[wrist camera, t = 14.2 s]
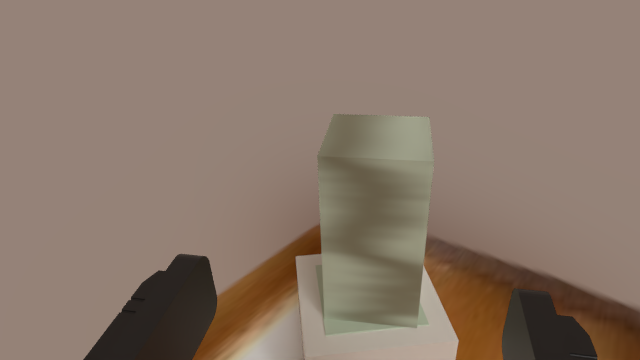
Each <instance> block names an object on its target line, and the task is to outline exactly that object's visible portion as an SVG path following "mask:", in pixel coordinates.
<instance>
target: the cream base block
mask: <svg viewBox="0 0 640 360" xmlns="http://www.w3.org/2000/svg"><path fill="white" fill-rule="evenodd" d="M296 269H297V283H298V296H299V310H300V321H301V332H302V343H303V354H304V360H455V358H456V353H457V347H458V342H459V340H458V338H457V336H456V334H455V332H454V329H453V327H452V325H451V323H450V321H449V319H448V317H447V315H446V312H445V310H444V308H443V306H442V304H441V302H440V300H439V297H438V295H437V293H436V291H435V289H434V287H433V285H432V282H431V280H430V278H429V276H428V274H427V272H426V270H425V267H424V265H423V274H422V284H421V294H420V304H419V313H418V323H417V328H411V327H401V326H392V325H382V324H373V323H363V322H354V321H344V320H335V319H326V318H324V298H323V274H322V254H315V255H305V256H296Z"/></svg>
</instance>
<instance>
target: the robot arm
mask: <svg viewBox="0 0 640 360" xmlns="http://www.w3.org/2000/svg"><path fill="white" fill-rule="evenodd" d="M216 307H217V295H216V290H215V286H214V281H213V276H212V272H211V268H210V263H209V260H208V258H207V257H205V256H197V255H187V254H179V255H177V256H176V257H175V259H174V260H173V261H172V263H171V264H170V266H169V267H168V268H167V270H166V271H158V272H156V273H155V274H154V275H152V276H151V277H149V278H148V279H147V280H145V281H144V282H143V283H142V284H141V285H140V286H139V288H138V289H137V291H136V292H135V293H134V294H133V296H132V297H131V300H129V301H128V302H127V303H126V305H125V306H124V307H123V309H122V312H121V313H119V314H118V316H117V317H116V318H115V319H114V320H113V322H112V323H111V324H110V326H109V327H108V328H107V330H106V331H105V332H104V334H103V335H102V336H101V337H100V339H99V340H98V342H97V343H96V344H95V345H94V347H93V348H92V349H91V351H90V352H89V353H88V355H87V356H86V357H85V358H84V360H192V359H193V357H194V355H195V353H196V351H197V349H198V347H199V345H200V343H201V341H202V340H203V338H204V336H205V334H206V332H207V330H208V328H209V326H210V324H211V322H212V320H213V318H214V316H215V312H216ZM502 353H503V360H597V354H596V351H595V349H594V346H593V344H592V341H591V339H590V336H589V335H588V334H587V332H586V331H585V330H584V329H583V328H582V327H581V326H580V325H579V323H578V322H577V321H576V320H575V319H574V318H573V317H570V316H561V315H557V314H556V311H555V308H554V305H553V302H552V299H551V296H550V294H549V293H548V292H545V291H535V290H525V289H514V290H513V292H512V295H511V300H510V304H509V308H508V313H507V317H506V321H505V326H504V330H503V337H502Z"/></svg>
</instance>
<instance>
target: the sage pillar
mask: <svg viewBox="0 0 640 360" xmlns="http://www.w3.org/2000/svg"><path fill="white" fill-rule="evenodd" d="M433 167H434V156H433V146H432V137H431V128H430V118H429V117H411V116H409V117H408V116H377V115H376V116H375V115H344V114H343V115H341V114H334V115H333V117H332V120H331V123H330V125H329V128H328V130H327V133H326V135H325V138H324V141H323V143H322V146H321V148H320V151H319V154H318V179H319V203H320V227H321V251H322V274H323V298H324V318H326V319H335V320H344V321H354V322H363V323H373V324H382V325H392V326H401V327H411V328H417V323H418V313H419V304H420V294H421V284H422V274H423V265H424V255H425V245H426V235H427V226H428V216H429V206H430V197H431V187H432V177H433Z"/></svg>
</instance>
